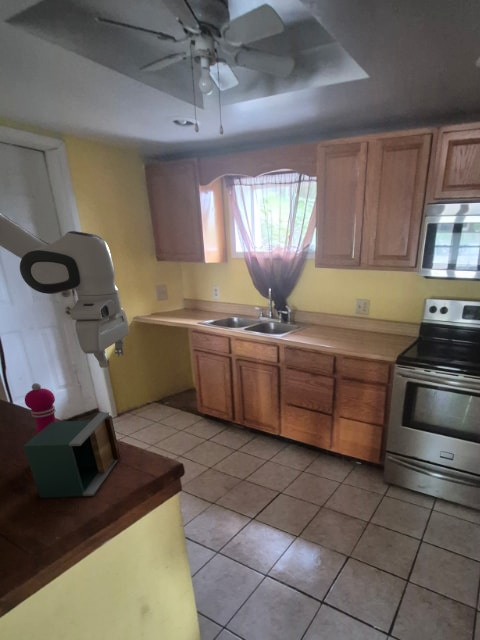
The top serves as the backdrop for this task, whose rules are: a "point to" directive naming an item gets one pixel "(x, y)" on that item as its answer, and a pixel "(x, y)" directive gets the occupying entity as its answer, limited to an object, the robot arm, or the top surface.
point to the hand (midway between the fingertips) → (112, 360)
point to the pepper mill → (41, 406)
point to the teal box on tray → (66, 459)
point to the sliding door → (105, 445)
